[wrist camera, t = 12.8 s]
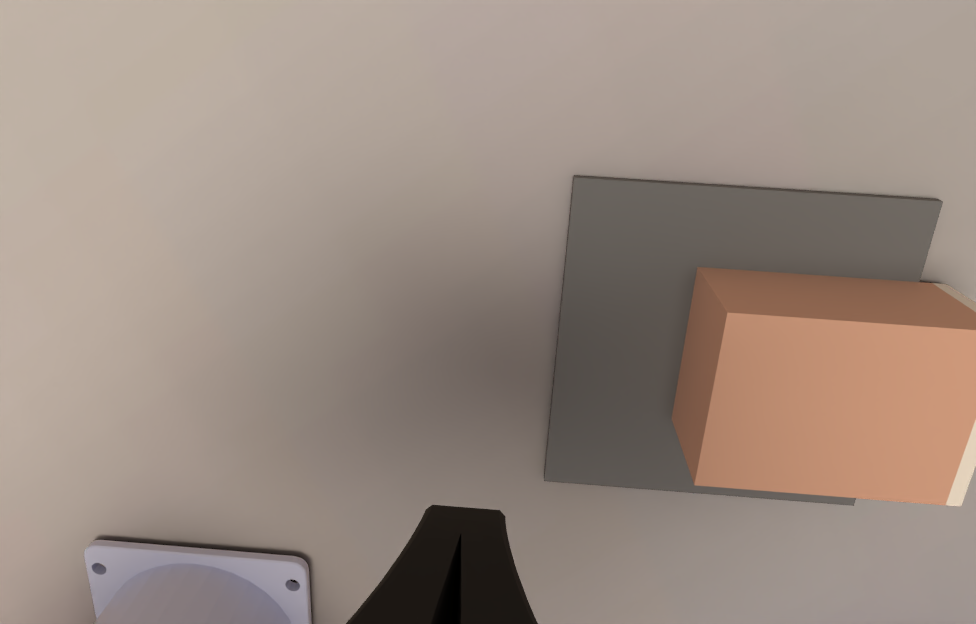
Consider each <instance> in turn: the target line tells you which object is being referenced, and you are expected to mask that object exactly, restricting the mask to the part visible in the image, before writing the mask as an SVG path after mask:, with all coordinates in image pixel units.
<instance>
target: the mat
mask: <svg viewBox="0 0 976 624" xmlns="http://www.w3.org/2000/svg"><path fill="white" fill-rule="evenodd" d="M942 203H943V201H941V200H938V199H929V198H914V197H898V196H883V195H868V194H852V193H837V192H821V191H806V190H791V189H775V188H760V187H744V186H729V185H714V184H698V183H683V182H667V181H652V180H637V179H621V178H606V177H590V176H575V175H574V177H573V187H572V198H571V208H570V218H569V228H568V238H567V249H566V259H565V269H564V279H563V289H562V300H561V310H560V320H559V330H558V341H557V351H556V361H555V371H554V381H553V392H552V402H551V412H550V422H549V432H548V443H547V453H546V463H545V473H544V481H550V482H563V483H575V484H588V485H601V486H613V487H626V488H638V489H651V490H664V491H676V492H689V493H701V494H714V495H727V496H739V497H752V498H764V499H777V500H790V501H802V502H815V503H827V504H840V505H853V506H854V503H855V500H856V498H848V497H836V496H823V495H810V494H798V493H785V492H772V491H760V490H747V489H734V488H722V487H709V486H697V485H694V483H693V480H692V477H691V474H690V471H689V468H688V465H687V462H686V459H685V456H684V454H683V451H682V448H681V445H680V442H679V439H678V436H677V433H676V430H675V427H674V425H673V422H672V413H673V407H674V401H675V396H676V390H677V384H678V378H679V372H680V366H681V360H682V354H683V349H684V343H685V337H686V331H687V325H688V319H689V313H690V308H691V302H692V296H693V290H694V284H695V278H696V272H697V267H706V268H720V269H735V270H749V271H764V272H778V273H793V274H807V275H822V276H836V277H851V278H865V279H880V280H894V281H909V282H920V278H921V275H922V271H923V268H924V265H925V261H926V258H927V254H928V251H929V248H930V244H931V241H932V237H933V234H934V230H935V227H936V224H937V220H938V217H939V213H940V210H941V207H942Z"/></svg>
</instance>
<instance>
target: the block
mask: <svg viewBox="0 0 976 624" xmlns="http://www.w3.org/2000/svg"><path fill="white" fill-rule="evenodd" d="M672 422H673V425H674V427H675V430H676V433H677V436H678V439H679V442H680V445H681V448H682V451H683V454H684V456H685V459H686V462H687V465H688V468H689V471H690V474H691V477H692V480H693V483H694V485H697V486H709V487H722V488H734V489H747V490H760V491H772V492H785V493H798V494H810V495H823V496H836V497H848V498H861V499H873V500H886V501H899V502H911V503H924V504H937V505H949V506H961V505H962V502H963V499H964V497H965V494H966V491H967V488H968V485H969V483H970V480H971V477H972V474H973V472H974V469H975V466H976V303H975V302H973V301H972V300H970V299H969V298H967V297H966V296H964V295H963V294H961V293H959V292H958V291H956V290H955V289H953V288H952V287H950V286H949V285H947V284H938V283H923V282H909V281H894V280H880V279H865V278H851V277H836V276H822V275H807V274H793V273H778V272H764V271H749V270H735V269H720V268H706V267H697V272H696V278H695V284H694V290H693V296H692V302H691V308H690V313H689V319H688V325H687V331H686V337H685V343H684V349H683V354H682V360H681V366H680V372H679V378H678V384H677V390H676V396H675V401H674V407H673V413H672Z"/></svg>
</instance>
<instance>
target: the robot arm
mask: <svg viewBox="0 0 976 624" xmlns="http://www.w3.org/2000/svg"><path fill="white" fill-rule="evenodd" d="M84 558H85V563H86V569H87V574H88V579H89V584H90V589H91V594H92V600H93V605H94V610H95V615H96V621H95V623H94V624H312V621H311V601H310V580H309V567H308V564H307V563H306V561H305V560H303V559H302V558H300V557H296V556H288V555H276V554H264V553H252V552H240V551H228V550H216V549H204V548H193V547H181V546H169V545H157V544H145V543H133V542H121V541H109V540H95V541H93V542H91V543H90V544H89V545H88V547H87V548H86V549H85V551H84ZM99 563H100V564H99ZM101 564H102V565H104V566H105V567H104V566H102V565H101ZM291 579H293V580H296V581H297V582H298V583H294V582H292V581H291ZM346 624H538V623H537V621H536V619H535V617H534V615H533V612H532V610H531V607H530V605H529V603H528V600H527V597H526V595H525V592H524V589H523V587H522V584H521V581H520V579H519V576H518V573H517V570H516V567H515V564H514V560H513V557H512V553H511V549H510V546H509V541H508V537H507V531H506V524H505V516H504V515H503V513H502V512H501V511H500V510H489V509H477V508H465V507H452V506H440V505H432V506H430V507H429V508H428V509H426V511H425V513H424V515H423V517H422V519H421V521H420V523H419V525H418V527H417V528H416V530H415V532H414V533H413V535H412V537H411V538H410V540H409V542H408V543H407V545H406V546H405V548H404V549H403V551H402V552H401V554H400V555H399V557H398V558H397V560H396V561H395V562H394V564H393V565H392V567H391V568H390V569H389V571H388V572H387V574H386V575H385V576H384V578H383V579H382V581H381V582H380V583H379V585H378V586H377V587H376V588H375V590H374V591H373V592H372V593H371V594H370V596H369V597H368V598H367V599H366V601H365V602H364V603H363V604H362V605H361V607H360V608H359V609H358V610H357V612H356V613H355V614H354V615H353V616H352V617H351V619H350V620H349V621H348V622H347V623H346Z"/></svg>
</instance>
